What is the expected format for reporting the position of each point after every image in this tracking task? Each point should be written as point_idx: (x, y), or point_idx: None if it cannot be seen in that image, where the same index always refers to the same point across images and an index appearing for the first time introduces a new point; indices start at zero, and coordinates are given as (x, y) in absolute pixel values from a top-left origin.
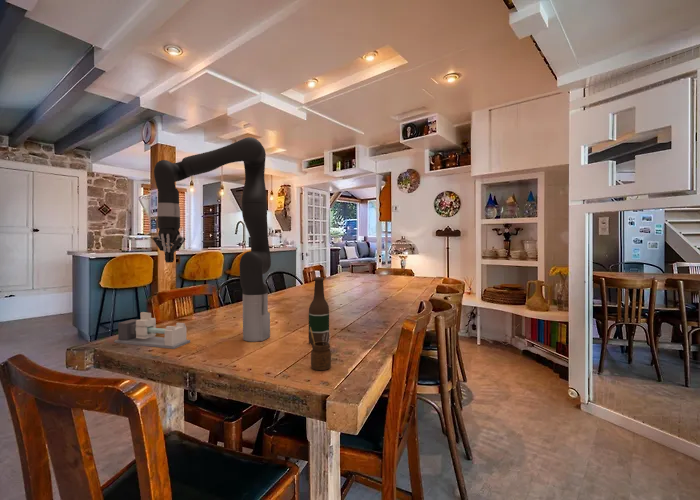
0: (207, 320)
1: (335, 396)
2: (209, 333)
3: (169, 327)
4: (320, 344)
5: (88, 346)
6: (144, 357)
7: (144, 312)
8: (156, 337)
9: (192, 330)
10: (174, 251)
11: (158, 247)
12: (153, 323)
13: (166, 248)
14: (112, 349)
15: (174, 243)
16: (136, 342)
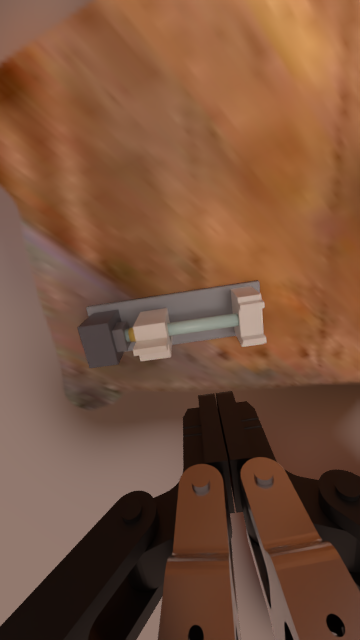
0: (99, 40)
1: None
2: (244, 193)
3: (253, 343)
4: None
5: (83, 387)
6: (248, 383)
7: (142, 349)
8: (163, 301)
9: (171, 189)
10: (297, 480)
11: (108, 604)
12: (166, 325)
13: (232, 570)
14: (146, 379)
15: (342, 617)
16: None
